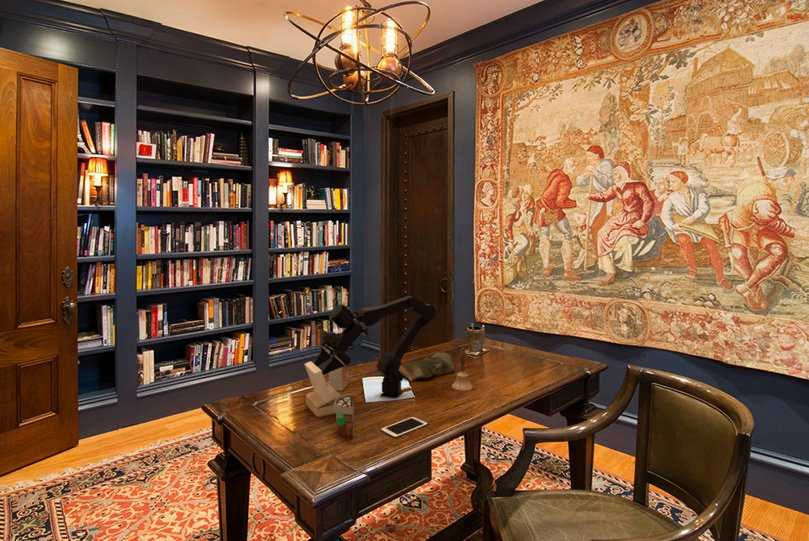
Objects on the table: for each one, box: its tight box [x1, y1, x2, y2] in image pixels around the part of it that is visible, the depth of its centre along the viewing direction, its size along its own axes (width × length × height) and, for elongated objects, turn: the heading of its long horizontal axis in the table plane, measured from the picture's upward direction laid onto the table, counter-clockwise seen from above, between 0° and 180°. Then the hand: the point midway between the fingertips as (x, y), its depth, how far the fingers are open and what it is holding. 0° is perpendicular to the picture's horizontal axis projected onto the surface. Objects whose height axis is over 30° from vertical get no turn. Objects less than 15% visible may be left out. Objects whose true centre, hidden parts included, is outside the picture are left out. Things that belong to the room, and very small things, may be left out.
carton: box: [305, 397, 336, 418], centre depth 163 cm, size 10×12×3 cm
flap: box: [304, 360, 342, 408], centre depth 161 cm, size 9×12×12 cm
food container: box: [333, 393, 355, 439], centre depth 144 cm, size 12×6×10 cm, turn 5°
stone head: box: [398, 351, 455, 383], centre depth 202 cm, size 19×8×28 cm
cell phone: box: [379, 416, 429, 439], centre depth 147 cm, size 8×15×1 cm, turn 131°
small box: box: [328, 365, 349, 392], centre depth 183 cm, size 8×6×10 cm
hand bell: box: [451, 347, 474, 392], centre depth 182 cm, size 8×8×16 cm
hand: (317, 370), depth 160 cm, fingers open, 9 cm apart
